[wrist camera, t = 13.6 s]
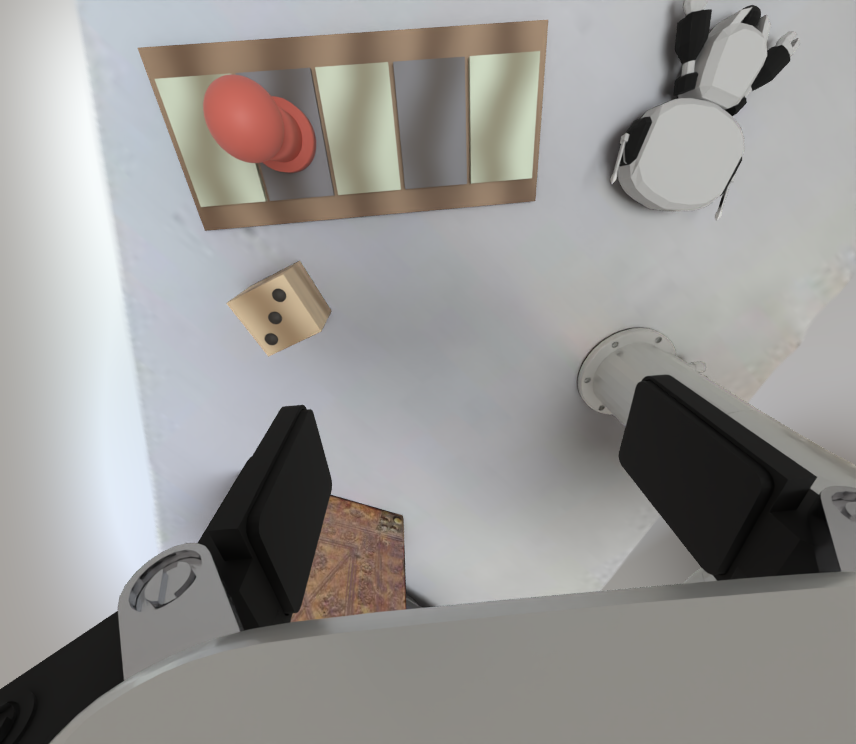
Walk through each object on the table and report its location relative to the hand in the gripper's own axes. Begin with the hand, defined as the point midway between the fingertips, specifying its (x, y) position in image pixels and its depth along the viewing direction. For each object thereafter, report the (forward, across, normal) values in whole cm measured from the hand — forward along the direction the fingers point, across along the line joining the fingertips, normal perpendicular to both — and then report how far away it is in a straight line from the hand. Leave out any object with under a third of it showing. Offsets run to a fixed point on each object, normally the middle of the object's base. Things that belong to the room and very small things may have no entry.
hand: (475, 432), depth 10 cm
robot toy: (+31, -25, -10) cm, 41 cm away
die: (+29, +15, +3) cm, 33 cm away
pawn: (+27, +11, -11) cm, 32 cm away
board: (+29, +5, -11) cm, 32 cm away
